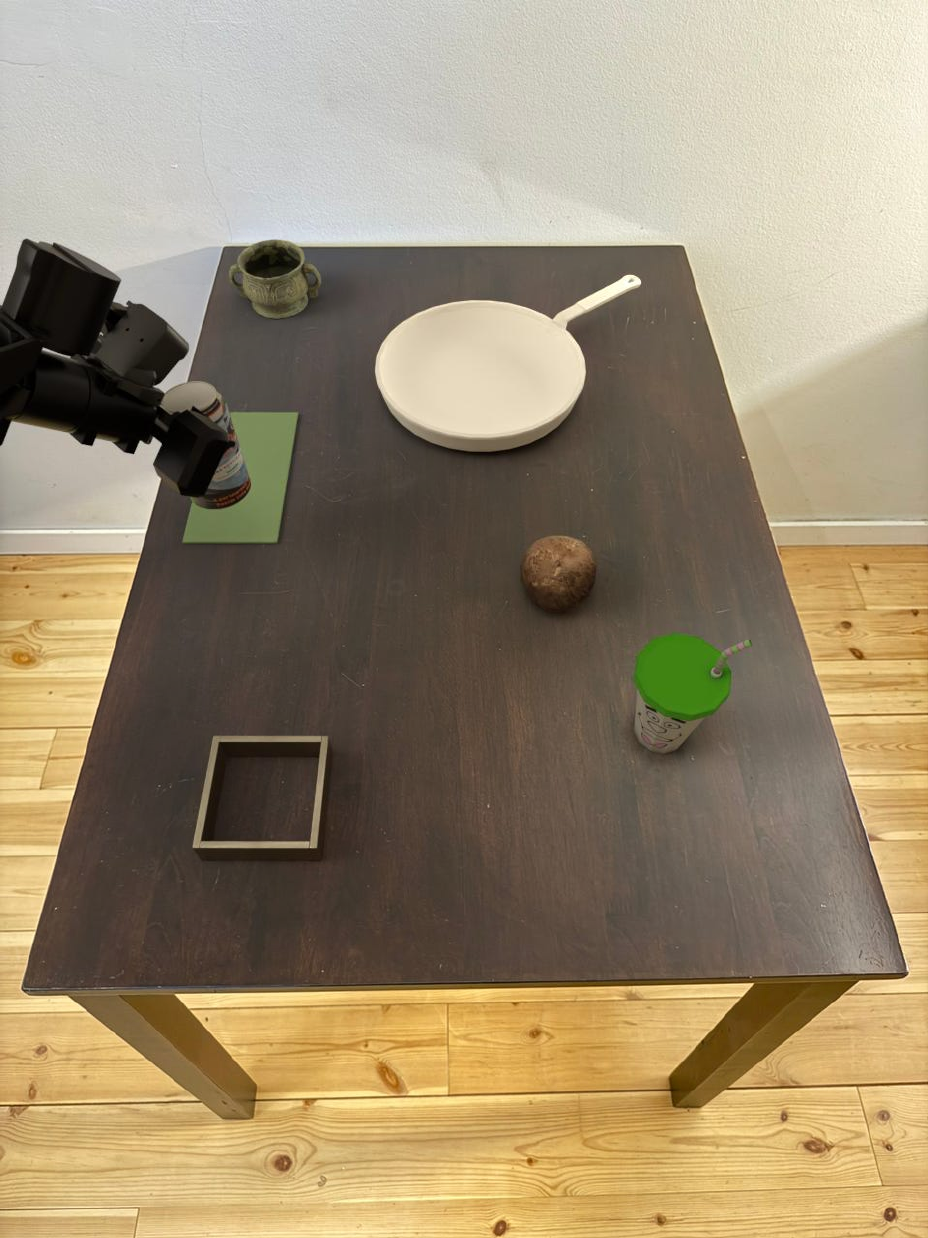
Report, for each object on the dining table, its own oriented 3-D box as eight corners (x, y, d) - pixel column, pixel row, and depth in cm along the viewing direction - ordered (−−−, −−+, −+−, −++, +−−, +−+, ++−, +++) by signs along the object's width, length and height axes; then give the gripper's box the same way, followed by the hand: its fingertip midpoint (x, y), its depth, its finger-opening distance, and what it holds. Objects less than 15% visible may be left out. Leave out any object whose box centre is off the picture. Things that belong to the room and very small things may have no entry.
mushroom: (602, 533, 86) (581, 518, 81) (614, 609, 84) (593, 600, 79) (531, 551, 90) (506, 538, 84) (540, 624, 88) (515, 616, 82)
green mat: (182, 543, 90) (182, 541, 89) (214, 413, 101) (214, 411, 101) (277, 543, 90) (276, 541, 89) (298, 414, 101) (298, 412, 101)
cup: (601, 744, 76) (628, 656, 64) (637, 680, 80) (669, 584, 68) (682, 786, 74) (726, 703, 62) (715, 718, 78) (763, 626, 65)
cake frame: (201, 860, 70) (191, 848, 68) (221, 750, 76) (213, 735, 73) (321, 860, 70) (316, 848, 68) (332, 750, 76) (328, 735, 73)
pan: (337, 377, 105) (332, 347, 101) (568, 263, 118) (571, 233, 115) (463, 494, 94) (464, 465, 90) (702, 353, 107) (710, 324, 104)
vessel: (327, 282, 116) (321, 238, 111) (320, 322, 111) (314, 279, 106) (240, 281, 116) (230, 238, 111) (229, 321, 111) (218, 278, 106)
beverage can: (216, 528, 82) (188, 437, 72) (171, 489, 85) (137, 395, 75) (267, 494, 85) (246, 402, 75) (221, 457, 88) (195, 363, 78)
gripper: (178, 353, 61) (315, 400, 74) (39, 251, 68) (187, 311, 82) (119, 489, 64) (261, 510, 78) (-8, 376, 71) (143, 414, 85)
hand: (212, 431), depth 80 cm, fingers closed on beverage can, 6 cm apart
